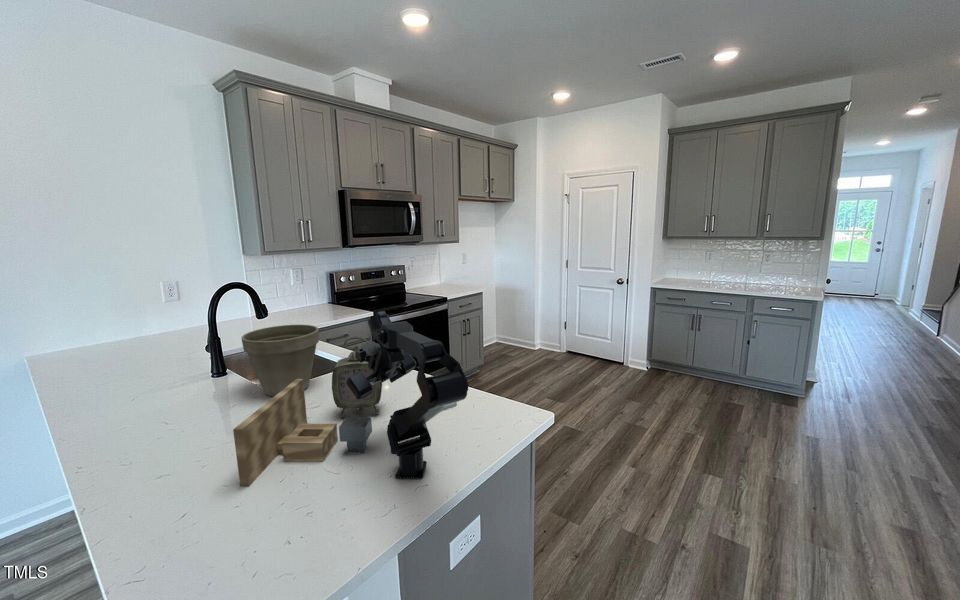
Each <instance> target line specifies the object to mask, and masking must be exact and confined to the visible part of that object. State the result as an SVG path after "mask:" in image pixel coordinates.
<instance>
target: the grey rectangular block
mask: <svg viewBox="0 0 960 600" xmlns="http://www.w3.org/2000/svg"><path fill="white" fill-rule="evenodd" d="M372 425H373V423H372V417H345V418H344V420H343V421H342V422H341V423H340V425H339V427H338V434H339V442H341V443H342V442H343V443H344V442H346V453H347V454H365V453H366V450H367V449H368V439H369V438H370V436H371V434H372V432H373V426H372Z"/></svg>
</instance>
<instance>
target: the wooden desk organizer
mask: <svg viewBox="0 0 960 600" xmlns="http://www.w3.org/2000/svg"><path fill="white" fill-rule="evenodd" d="M305 396H306V395H305V390H304V383H303V379H296V380H294V381H293V382H292V383H291V384H289V385H288V386H287V387H286V388H284V389H283V390H282V391H281V392H279V393H278V394H277V395H276V396H272V398H271V399H270V400H268V401H267V402H266V403H264V404H263V405H262V406H260V408H258V409H256V410H255V411H254V412H253V413H252V414H250V415H249V416H248V417H247V418H245V419H244V420H243V421H241V423H239V424H238V425H237V426H235V427H234V428H233V429H232V431H233V438H234V446H235V447H234V448H235V455H236V456H235V457H236V462H237V463H236V464H237V471H238V472H237V473H238V479H239V480H238V481H239V486H240V487H250V486H251V485H252V484H253V482H254V481H256V479H257V478H258V477H259V476H260V475H261V474H262V473H263V472H264V471H265V470H266V469H267V468H268V466H269V465H270V464H271V463H272V462H273V461H274V460H275V458H276V457H278V456H279V455H282V457H283V461H284V462H324V461H325V459H326V458H327V457H328V455H329V454H330V452H331V451H332V450H333V448H334V446H335V445H336V444H337V442H338V440H339V438H338V425H337V424H338V423H308V418H307V417H308V415H307V407H306V406H307V405H306V397H305Z"/></svg>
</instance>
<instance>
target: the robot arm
mask: <svg viewBox="0 0 960 600" xmlns="http://www.w3.org/2000/svg"><path fill="white" fill-rule="evenodd" d="M367 325H368V327H369V330H370V333H371V336H372V338H373V341H370V342H368V344H363V345H361V346H360V347H358V348H359V349H358V350H357V351H356V353H355V357H356V359H357V360H358V361H359V362H360V363H362V362H364V361H365V362H367V363H369V364H368V367H369V369H370V370H371V369H372V370H373V374H372V375H370V376H368V377H365V376H364V375H363V373H362V372H357V373H355V374H353V375H351V376H349V377H348V378H347V382H346V384H347V386H348V387H349V388H350V390H351V391H352V392H353V394H354V395H355V397H356V398H357V399H362V398H365V397H367V396H369V395H370V394H372V390H373V389H372V385H374V384H375V383H377V382H379V381H381V382H382V383H384V382H386V381H388V380H389V382H390V383H394V382H396V381H397V380H399V379H401V378H403V377H404V376H405V375H407V374H409V373H411V372H412V371H413V370H415V369H416V368H417V367H416V366H417V364H418V370H417V375H416V383H417V386H418V389H419V391H420V394H421V396H420V397H419V398H418V399H417V400H416V401H415V402H414V403H413V405H411V406H409V407H404V408H401V409H397V410H394V412H393V413H392V414H391V415H390V416H389V417H390V419H389V421H388V424H387V426H386V434H387V438H388V445H389V448H390V454H391V455H395V456H396V457H397V458H398V467H397V470H396V473H395V474H394V475H395V476H394V477H395V479H423V478H424V476H425V475H424V474H425V471H426V469H427V468H426V467H427V463H428V462H427V461H426V460H424V452H423V451H424V448H428V447H431V446H432V445H431V444H432V437H431V435H430V432H429V429H428V426H427V422H428V421H430V420H431V419H432V418H431V417H433V416H434V415H435V414H436V413H437V412H438V411H439V410H440V409H441V408H443V407H444V406H446V405H449V404H452V403H455V402H456V403H458V402H460V401H463V400H464V401H465V400H466V398H467V395H468V391H469V383H468V379H467V377H466V375H465V372H464V371H463V370H464V369H463V368H462V366H461V364H460V362H459V361H457V360H456V359H455V358H454V357H453V356H452V355H450V353H448V352H447V350H446V347H445V346H444V343H443V342H442V341H441V340H437V339H436V340H434V339H432V338H430V337H427V336H425V335H422V334H421V333H419V332H416V331H414V326H413V325H412V324H411V323H410V322H408V321H406V320H405V321H398V322H392V320H391V318H390V315H388V314H387V313H386V310H385V311H383V310H382V311H377V313H376V314H374V315H373V316H371V317H370V318H369V319H368V320H367ZM414 358H415V359H416V360H417V362H416V360H415V359H414ZM434 361H438V362H439V363H440V364H441V365H442V366H443V367H444V368H445V369H446V370H448V371H449V372H445V373H441V374H437V375H432V376H428V377H427V376H426V374H425V366H426V363H431V362H434ZM435 416H436V415H435ZM435 416H434V417H435ZM434 417H433V418H434ZM430 418H431V419H430ZM429 419H430V420H429Z"/></svg>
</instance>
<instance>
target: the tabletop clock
mask: <svg viewBox="0 0 960 600" xmlns="http://www.w3.org/2000/svg"><path fill="white" fill-rule="evenodd" d="M351 340H362V341H364V342H365V343H366V344H368V343H369V342H368V340H367V339H366V338H365V337H362V336H351V337H349V338H347V339H346V340H344V343H343V345H344V346H343V347H345V348H346V350H350V351H351V352H350V353H349V355H348V357H343V358H341V359H338V360H337V362H336V364H335V366H334V369H333V371H332V374H331V375H332V376H331V392H332V397H333V402H334V404H335V405H336V407H337V408H338V409H339V408H340V409H342V411H341V412H339V413H338V417H339V418H341V419H342V418H344V417H345V411H346V410H349V409H350V410H353V409H354V410H355V409H356V410H357V409H358V410H359V411H362V410H363V409H365V408H371V407H373V409H374V414H375V415H377V416H378V415H379V414H380V413H381V411H380V409H377V407H376V405H379V403H380V401H381V398H382V390H383V382H381V381H379V382H377V383H375V384H374V385H372V389H373V390H372V394H370V395H369V396H367V397H365V398H362V399H357V398H356V397H355V395H354V394H353V392H352V391H351V390H350V388H349V387H348V386H347V384H346V382H347V378H348V377H349V376H351V375H353V374H355V373H357V372H362V373H363V375H364V376H365V377H368V376H370V375H372V374H373V370H372V369H371V370H370V369H369V367H368V364H369V363H367V362H365V361H364V362H362V363H360V362H359V361H358V360H357V359H356V357H355V353H356V351H357V350H358V349H359V348H360V347H359V346H358V345H354V347H349V346H347V345H346V344H347V343H348V342H349V341H351ZM366 344H365V345H366Z"/></svg>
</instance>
